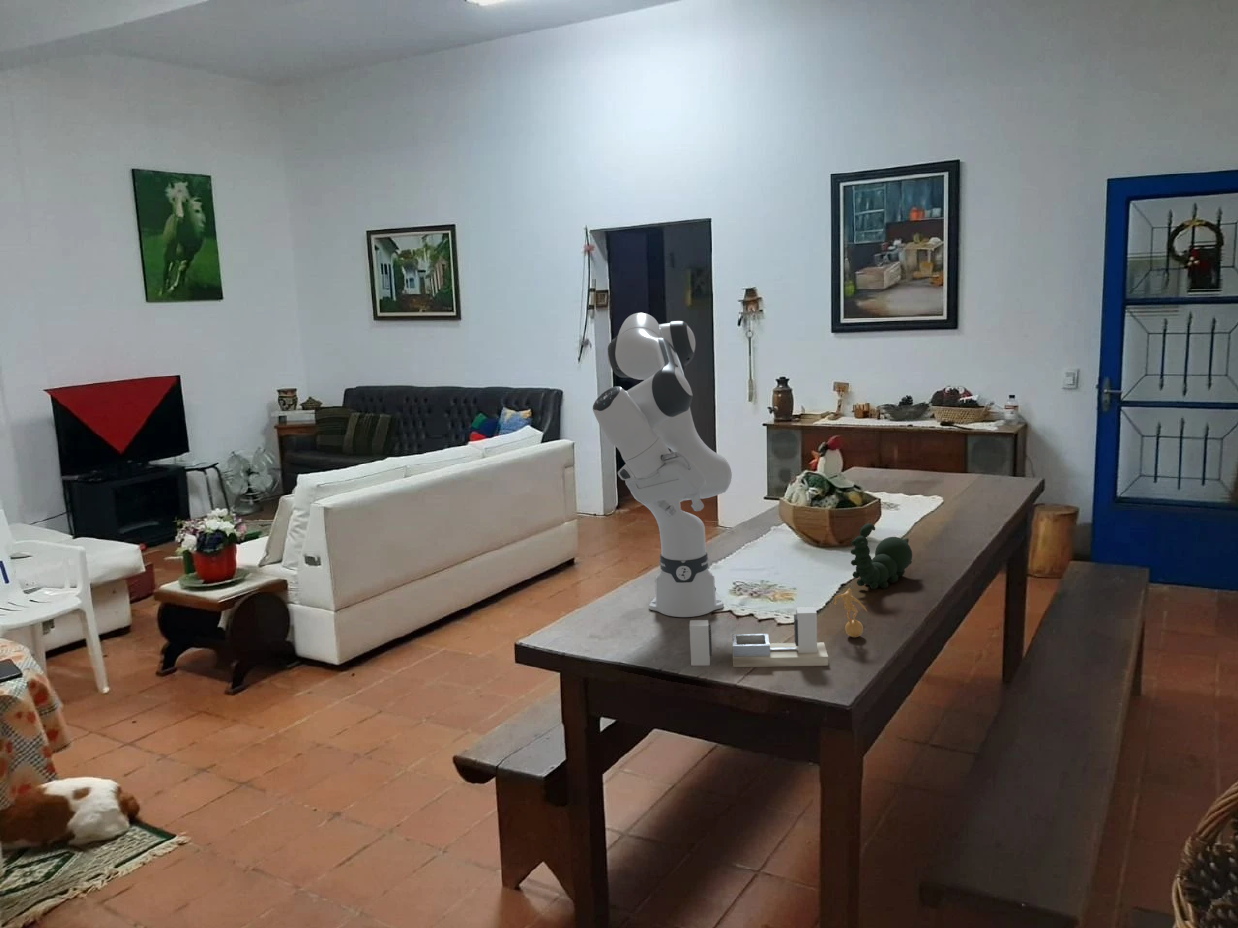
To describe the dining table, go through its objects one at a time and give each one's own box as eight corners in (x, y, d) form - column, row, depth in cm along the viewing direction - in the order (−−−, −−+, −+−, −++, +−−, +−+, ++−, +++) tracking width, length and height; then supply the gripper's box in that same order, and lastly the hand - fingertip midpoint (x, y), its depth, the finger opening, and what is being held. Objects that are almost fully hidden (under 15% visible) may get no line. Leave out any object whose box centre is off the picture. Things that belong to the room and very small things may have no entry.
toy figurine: (876, 604, 243) (925, 570, 259) (872, 533, 238) (922, 503, 255) (844, 596, 250) (893, 564, 266) (839, 528, 245) (890, 499, 261)
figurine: (875, 638, 217) (874, 587, 215) (861, 646, 213) (860, 594, 211) (842, 630, 223) (842, 580, 221) (828, 638, 219) (827, 587, 216)
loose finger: (691, 658, 212) (689, 620, 210) (712, 658, 211) (710, 619, 210) (691, 665, 208) (689, 626, 207) (712, 665, 208) (710, 625, 206)
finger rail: (732, 652, 214) (730, 605, 212) (823, 650, 212) (823, 603, 210) (733, 666, 206) (731, 618, 204) (828, 665, 204) (827, 616, 202)
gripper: (688, 441, 190) (726, 496, 193) (631, 458, 207) (666, 508, 210) (670, 459, 187) (708, 515, 190) (612, 475, 204) (649, 526, 207)
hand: (686, 512), depth 200 cm, fingers open, 8 cm apart
